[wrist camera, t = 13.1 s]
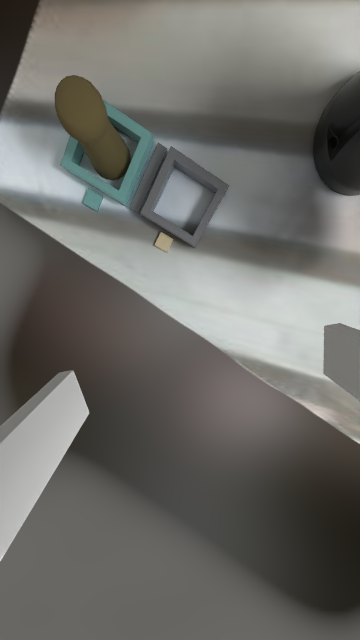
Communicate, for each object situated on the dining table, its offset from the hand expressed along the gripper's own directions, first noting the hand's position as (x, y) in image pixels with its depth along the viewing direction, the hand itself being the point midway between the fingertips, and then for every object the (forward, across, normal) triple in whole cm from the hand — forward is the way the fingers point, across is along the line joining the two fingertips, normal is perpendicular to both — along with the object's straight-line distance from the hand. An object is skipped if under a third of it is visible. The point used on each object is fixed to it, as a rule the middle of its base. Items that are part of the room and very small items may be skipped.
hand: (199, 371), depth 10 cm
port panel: (+27, -3, +18) cm, 32 cm away
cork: (+27, -7, +23) cm, 36 cm away
